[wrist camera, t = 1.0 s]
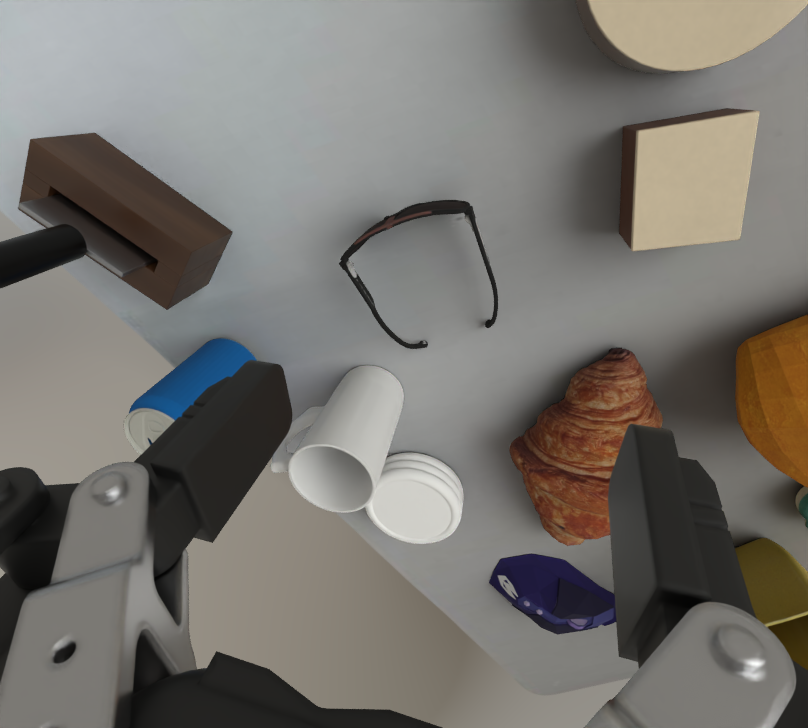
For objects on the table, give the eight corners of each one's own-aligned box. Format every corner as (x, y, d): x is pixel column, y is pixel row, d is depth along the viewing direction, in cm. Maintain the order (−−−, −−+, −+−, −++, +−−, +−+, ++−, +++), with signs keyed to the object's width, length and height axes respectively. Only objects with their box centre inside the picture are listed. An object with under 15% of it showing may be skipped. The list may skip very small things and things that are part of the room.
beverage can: (211, 388, 49) (132, 465, 39) (197, 332, 46) (107, 400, 36) (269, 394, 48) (203, 476, 38) (259, 337, 45) (183, 409, 35)
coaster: (448, 532, 53) (444, 558, 50) (363, 502, 53) (354, 527, 50) (477, 469, 47) (474, 494, 44) (382, 437, 48) (374, 460, 45)
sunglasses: (464, 170, 34) (461, 192, 30) (516, 307, 40) (519, 340, 36) (340, 225, 38) (322, 251, 34) (404, 343, 44) (395, 376, 40)
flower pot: (733, 600, 49) (774, 694, 41) (681, 552, 47) (713, 641, 40) (825, 568, 45) (889, 667, 37) (772, 514, 43) (827, 606, 35)
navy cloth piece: (508, 542, 52) (507, 574, 48) (643, 584, 51) (652, 620, 47) (483, 591, 56) (481, 623, 53) (606, 630, 55) (612, 666, 52)
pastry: (715, 480, 42) (753, 554, 36) (559, 532, 49) (566, 602, 42) (625, 338, 38) (649, 392, 31) (466, 417, 45) (457, 476, 38)
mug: (401, 360, 43) (365, 444, 33) (412, 421, 46) (383, 514, 36) (300, 364, 45) (237, 444, 35) (317, 422, 49) (264, 509, 38)
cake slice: (622, 126, 31) (637, 131, 27) (728, 108, 29) (760, 110, 25) (618, 233, 34) (632, 251, 30) (713, 222, 32) (740, 240, 29)
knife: (109, 195, 41) (-94, 247, 27) (116, 171, 39) (-93, 213, 26) (190, 252, 42) (34, 329, 28) (200, 230, 41) (41, 300, 27)
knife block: (94, 132, 38) (30, 138, 33) (232, 231, 40) (191, 252, 35) (79, 194, 41) (17, 209, 36) (208, 284, 43) (166, 310, 38)
